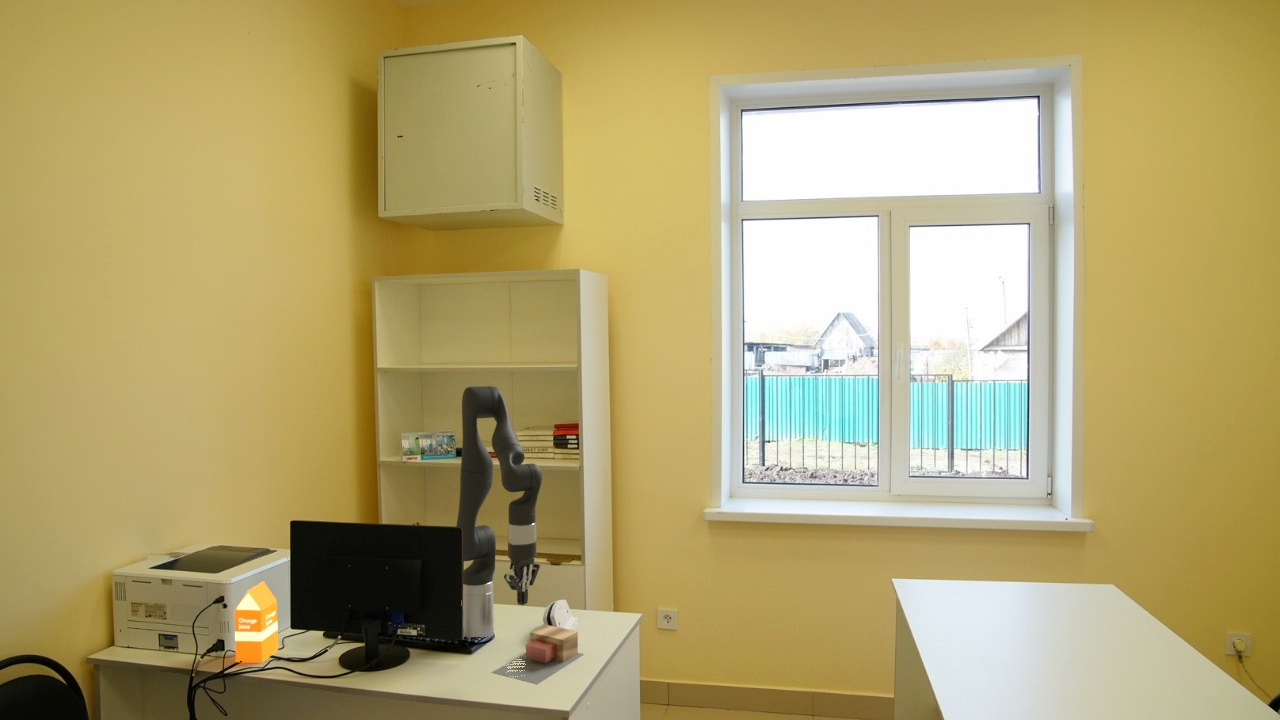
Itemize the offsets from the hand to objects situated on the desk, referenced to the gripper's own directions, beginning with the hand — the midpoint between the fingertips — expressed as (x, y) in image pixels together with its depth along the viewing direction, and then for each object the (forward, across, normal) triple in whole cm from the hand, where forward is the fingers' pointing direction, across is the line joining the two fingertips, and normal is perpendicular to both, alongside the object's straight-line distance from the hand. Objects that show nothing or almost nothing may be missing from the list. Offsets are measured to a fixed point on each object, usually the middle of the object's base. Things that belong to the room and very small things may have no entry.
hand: (522, 603), depth 216 cm
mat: (+19, -7, 0) cm, 20 cm away
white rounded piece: (+19, -29, -8) cm, 36 cm away
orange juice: (+20, +27, -73) cm, 80 cm away
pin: (+18, -13, 0) cm, 22 cm away
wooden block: (+18, -14, 0) cm, 23 cm away
